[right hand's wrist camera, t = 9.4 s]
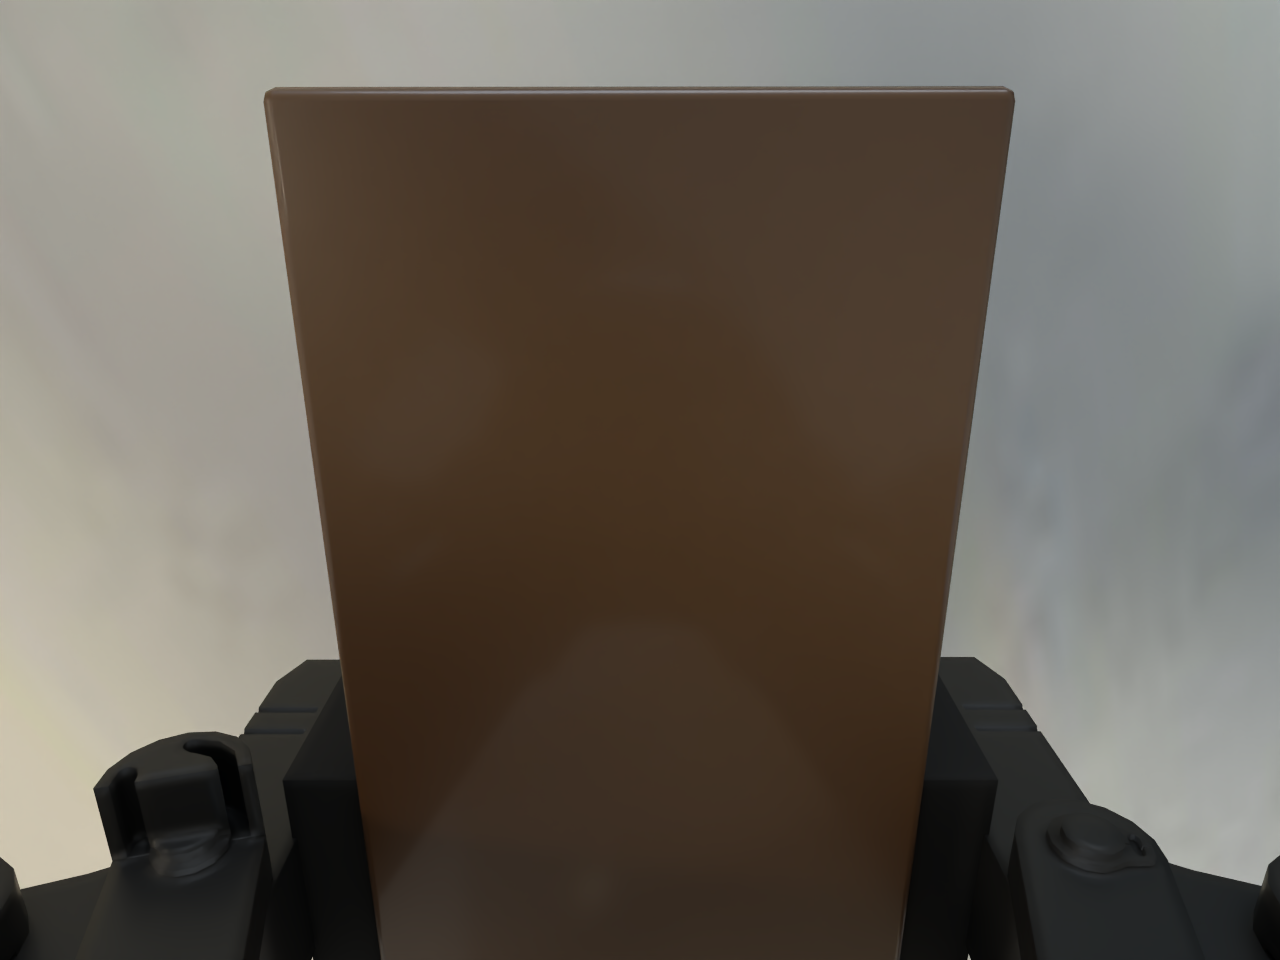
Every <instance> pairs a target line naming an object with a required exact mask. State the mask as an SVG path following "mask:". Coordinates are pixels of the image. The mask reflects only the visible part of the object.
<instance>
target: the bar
mask: <svg viewBox="0 0 1280 960" xmlns="http://www.w3.org/2000/svg"><path fill="white" fill-rule="evenodd" d="M1014 106H1015V98H1014V92H1013V91H1012V90H1010V89H1008V88H1006V87H1003V86H881V87H275V88H273V89H271V90H269V91H267V92H266V93H265V97H264V108H265V116H266V123H267V130H268V138H269V145H270V152H271V159H272V167H273V174H274V181H275V189H276V196H277V203H278V211H279V218H280V225H281V233H282V240H283V247H284V255H285V262H286V269H287V276H288V284H289V291H290V298H291V306H292V313H293V320H294V328H295V335H296V342H297V350H298V357H299V364H300V371H301V379H302V386H303V393H304V401H305V408H306V415H307V423H308V430H309V437H310V445H311V452H312V459H313V467H314V474H315V481H316V488H317V496H318V503H319V510H320V518H321V525H322V532H323V540H324V547H325V554H326V562H327V569H328V576H329V584H330V591H331V598H332V605H333V613H334V620H335V627H336V635H337V642H338V649H339V657H340V664H341V671H342V679H343V686H344V693H345V700H346V708H347V715H348V722H349V730H350V737H351V744H352V752H353V759H354V766H355V774H356V781H357V788H358V796H359V803H360V810H361V817H362V825H363V832H364V839H365V847H366V854H367V861H368V869H369V876H370V883H371V891H372V898H373V905H374V912H375V920H376V927H377V934H378V942H379V949H380V956H381V960H900V954H901V946H902V939H903V931H904V924H905V917H906V909H907V902H908V894H909V887H910V879H911V872H912V864H913V857H914V850H915V842H916V835H917V827H918V820H919V812H920V805H921V798H922V790H923V783H924V775H925V768H926V760H927V753H928V745H929V738H930V731H931V723H932V716H933V708H934V701H935V693H936V686H937V678H938V671H939V664H940V656H941V649H942V641H943V634H944V626H945V619H946V612H947V604H948V597H949V589H950V582H951V574H952V567H953V559H954V552H955V545H956V537H957V530H958V522H959V515H960V507H961V500H962V493H963V485H964V478H965V470H966V463H967V455H968V448H969V440H970V433H971V426H972V418H973V411H974V403H975V396H976V388H977V381H978V373H979V366H980V359H981V351H982V344H983V336H984V329H985V321H986V314H987V307H988V299H989V292H990V284H991V277H992V269H993V262H994V254H995V247H996V240H997V232H998V225H999V217H1000V210H1001V202H1002V195H1003V188H1004V180H1005V173H1006V165H1007V158H1008V150H1009V143H1010V135H1011V128H1012V121H1013V113H1014Z"/></svg>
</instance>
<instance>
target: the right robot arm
mask: <svg viewBox="0 0 1280 960" xmlns="http://www.w3.org/2000/svg"><path fill="white" fill-rule="evenodd" d="M244 730H245V731H244V734H241V735H240V736H239V738H238V737H236V736H231V735H227V734H223V733H219V732H193V733H185V734H181V735H177V736H173V737H169V738H165V739H161V740H158V741H156V742H154V743H151V744H149V745H147V746H145V747H142V748H140V749H138V750H136V751H134V752H131V753H130V754H128V755H127V756H126V757H124V758H123V759H122V760H120V761H119V762H117V763H116V764H115V765H113V766H112V767H111V768H109V769H108V770H107V771H106V772H105V774H104V775H103V776H102V778H101V779H100V780H99V782H98V783H97V784H96V786H95V787H94V788H93V789H94V793H95V797H96V801H97V805H98V808H99V812H100V816H101V820H102V823H103V827H104V831H105V835H106V838H107V842H108V846H109V850H110V853H111V857H112V864H111V867H109V868H106V869H102V870H99V871H96V872H92V873H89V874H85V875H81V876H77V877H72V878H68V879H64V880H59V881H55V882H51V883H46V884H42V885H38V886H33V887H29V888H25V889H20V887H19V884H18V881H17V878H16V875H15V872H14V868H12V867H11V866H10V865H9V864H8V863H7V862H5V861H4V860H3V859H2V858H1V857H0V960H311V959H312V957H313V960H381V956H380V949H379V942H378V934H377V927H376V920H375V912H374V905H373V898H372V891H371V883H370V876H369V869H368V861H367V854H366V847H365V839H364V832H363V825H362V817H361V810H360V803H359V796H358V788H357V781H356V774H355V766H354V759H353V752H352V744H351V737H350V730H349V722H348V715H347V708H346V700H345V693H344V686H343V679H342V671H341V664H340V660H306V661H305V662H303V663H302V664H300V665H299V666H298V667H296V668H295V669H294V670H292V671H291V672H289V673H288V674H287V675H285V676H284V677H282V678H281V679H280V680H278V681H277V682H276V683H275V685H274V686H273V688H272V689H271V690H270V692H269V693H268V695H267V696H266V698H265V699H264V701H263V702H262V704H261V705H260V707H259V712H258V713H255V714H254V716H253V717H252V718H251V720H250V721H249V723H248V724H247V726H246V727H245V729H244ZM968 953H969V956H970V958H971V960H1280V856H1278V857H1277V858H1276V859H1275V860H1274V861H1272V862H1271V863H1270V864H1269V865H1268V868H1267V871H1266V874H1265V877H1264V881H1263V884H1262V886H1259V885H1255V884H1250V883H1246V882H1242V881H1237V880H1233V879H1229V878H1224V877H1220V876H1215V875H1211V874H1207V873H1202V872H1198V871H1194V870H1190V869H1187V868H1184V867H1180V866H1177V865H1174V864H1171V863H1169V862H1168V860H1167V858H1166V857H1165V855H1164V854H1163V852H1162V851H1161V849H1160V848H1159V846H1158V845H1157V843H1156V842H1155V840H1154V839H1153V838H1151V837H1150V836H1149V835H1148V834H1147V833H1145V832H1144V831H1143V830H1142V829H1141V828H1139V827H1138V826H1137V825H1136V824H1135V823H1133V822H1132V821H1130V820H1128V819H1126V818H1124V817H1122V816H1120V815H1118V814H1116V813H1114V812H1112V811H1110V810H1108V809H1106V808H1104V807H1100V806H1097V805H1093V804H1090V803H1089V801H1088V800H1087V799H1086V797H1085V796H1084V794H1083V793H1082V791H1081V790H1080V788H1079V787H1078V785H1077V784H1076V782H1075V781H1074V780H1073V778H1072V777H1071V775H1070V774H1069V772H1068V771H1067V769H1066V768H1065V766H1064V765H1063V763H1062V762H1061V761H1060V759H1059V758H1058V756H1057V755H1056V753H1055V752H1054V750H1053V749H1052V747H1051V746H1050V744H1049V743H1048V742H1047V740H1046V739H1045V737H1044V736H1043V734H1042V733H1041V731H1037V725H1036V724H1035V723H1034V721H1033V720H1032V718H1031V717H1030V715H1029V714H1028V712H1027V711H1026V710H1023V708H1022V703H1021V702H1020V701H1019V699H1018V698H1017V696H1016V695H1015V693H1014V692H1013V690H1012V689H1011V687H1010V686H1009V684H1008V683H1007V682H1006V680H1005V679H1004V678H1003V677H1001V676H1000V675H998V674H997V673H996V672H994V671H993V670H991V669H990V668H989V667H987V666H986V665H984V664H983V663H982V662H980V661H979V660H977V659H976V658H975V657H940V664H939V671H938V678H937V686H936V693H935V701H934V708H933V716H932V723H931V731H930V738H929V745H928V753H927V760H926V768H925V775H924V783H923V790H922V798H921V805H920V812H919V820H918V827H917V835H916V842H915V850H914V857H913V864H912V872H911V879H910V887H909V894H908V902H907V909H906V917H905V924H904V931H903V939H902V946H901V954H900V960H967V959H968Z"/></svg>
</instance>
